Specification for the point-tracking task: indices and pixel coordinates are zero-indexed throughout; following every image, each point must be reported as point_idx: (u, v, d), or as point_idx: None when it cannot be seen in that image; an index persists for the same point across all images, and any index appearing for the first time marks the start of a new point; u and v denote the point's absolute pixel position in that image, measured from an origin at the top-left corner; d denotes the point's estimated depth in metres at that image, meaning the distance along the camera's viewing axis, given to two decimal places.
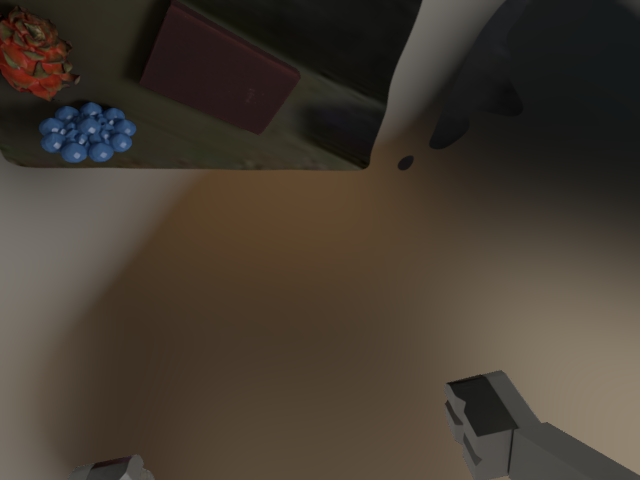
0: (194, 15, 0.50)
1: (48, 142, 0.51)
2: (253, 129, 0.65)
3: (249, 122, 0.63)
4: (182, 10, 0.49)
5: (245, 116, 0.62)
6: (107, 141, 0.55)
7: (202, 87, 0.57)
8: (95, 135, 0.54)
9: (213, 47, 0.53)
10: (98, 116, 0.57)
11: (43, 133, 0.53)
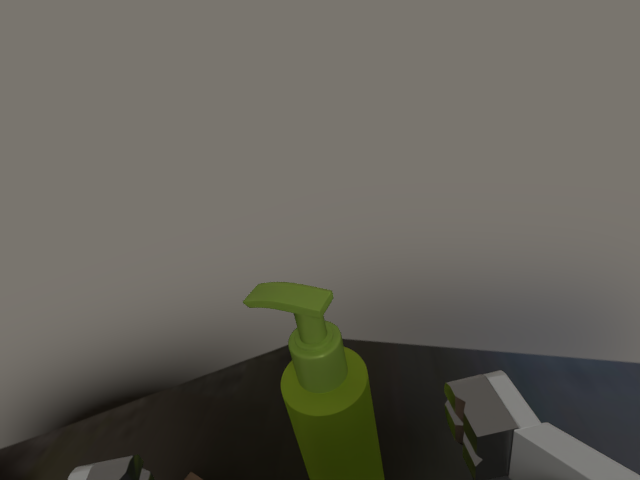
0: None
1: None
2: None
3: None
4: None
5: None
6: None
7: None
8: None
9: None
10: None
11: None
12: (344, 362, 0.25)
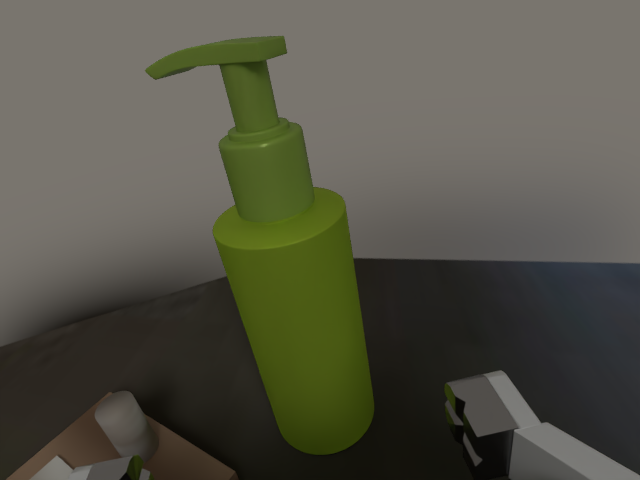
0: None
1: None
2: None
3: None
4: None
5: None
6: None
7: None
8: None
9: None
10: None
11: None
12: (307, 177, 0.16)
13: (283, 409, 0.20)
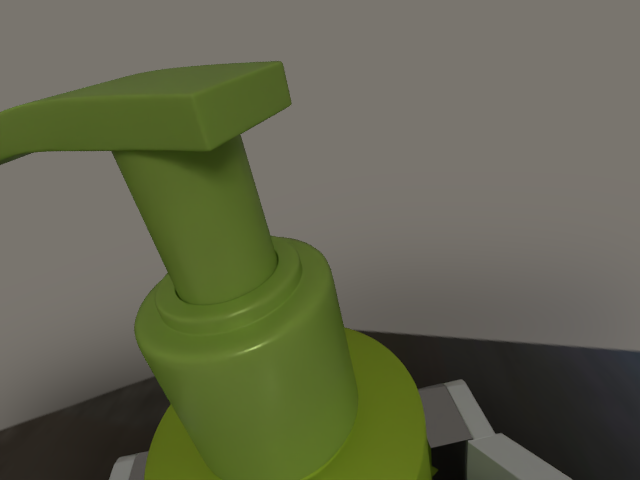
0: None
1: None
2: None
3: None
4: None
5: None
6: None
7: None
8: None
9: None
10: None
11: None
12: (346, 374, 0.07)
13: None
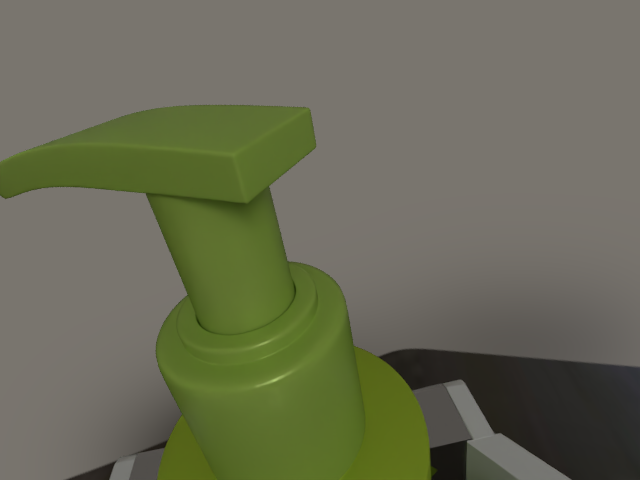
0: None
1: None
2: None
3: None
4: None
5: None
6: None
7: None
8: None
9: None
10: None
11: None
12: (356, 398, 0.07)
13: None
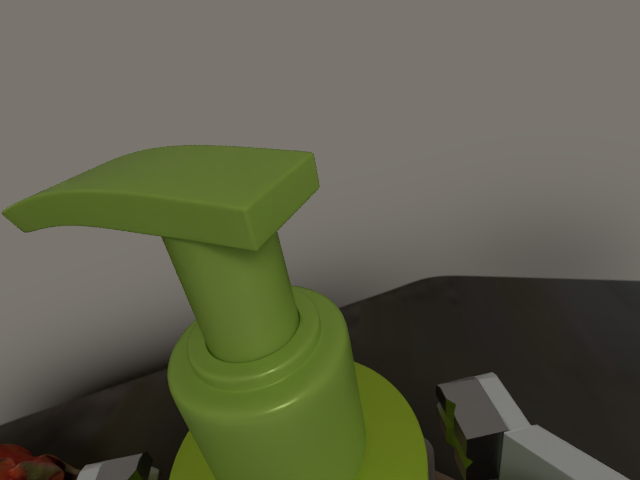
0: None
1: None
2: None
3: None
4: None
5: None
6: None
7: None
8: None
9: None
10: None
11: None
12: (357, 418, 0.08)
13: None
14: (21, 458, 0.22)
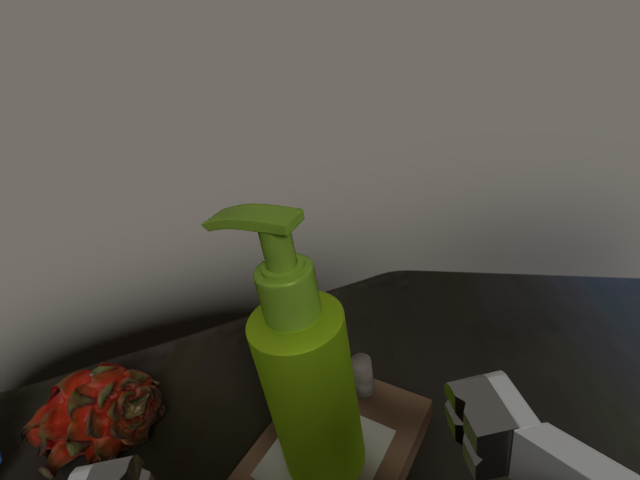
0: None
1: None
2: None
3: None
4: None
5: None
6: None
7: None
8: None
9: None
10: None
11: None
12: (317, 298, 0.22)
13: (295, 461, 0.26)
14: (125, 370, 0.36)
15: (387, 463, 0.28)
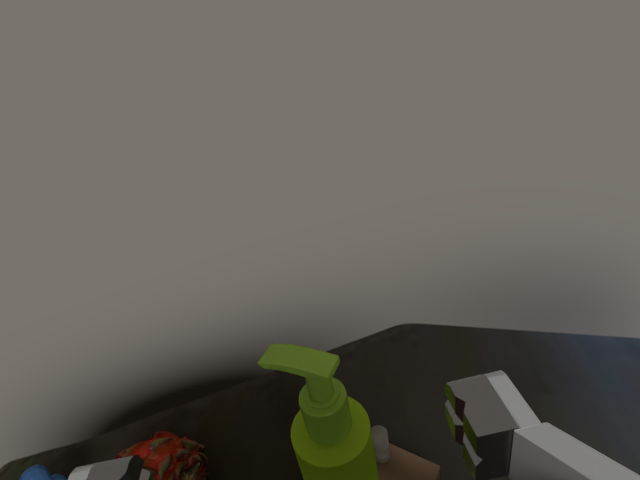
0: None
1: (40, 472, 0.36)
2: None
3: None
4: None
5: None
6: None
7: None
8: None
9: None
10: None
11: (51, 476, 0.38)
12: (349, 416, 0.28)
13: None
14: (176, 438, 0.42)
15: None
